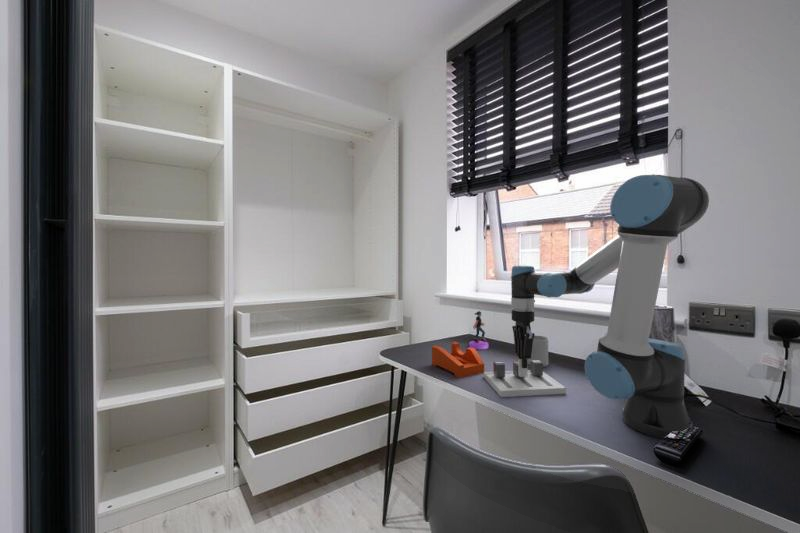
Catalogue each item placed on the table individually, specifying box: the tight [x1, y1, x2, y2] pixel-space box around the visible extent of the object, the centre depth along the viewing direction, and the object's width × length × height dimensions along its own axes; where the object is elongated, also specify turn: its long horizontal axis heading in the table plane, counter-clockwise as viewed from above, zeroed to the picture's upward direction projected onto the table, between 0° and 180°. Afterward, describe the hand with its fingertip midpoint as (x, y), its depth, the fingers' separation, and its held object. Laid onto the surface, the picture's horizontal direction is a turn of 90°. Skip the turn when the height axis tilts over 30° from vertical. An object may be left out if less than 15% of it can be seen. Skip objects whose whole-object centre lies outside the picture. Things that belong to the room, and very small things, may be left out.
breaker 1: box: [492, 361, 506, 378], centre depth 124 cm, size 4×3×5 cm
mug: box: [528, 335, 549, 368], centre depth 143 cm, size 12×8×11 cm
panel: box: [483, 369, 567, 398], centre depth 121 cm, size 18×22×2 cm
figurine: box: [468, 310, 489, 350], centre depth 171 cm, size 9×9×18 cm
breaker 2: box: [512, 361, 524, 378], centre depth 123 cm, size 4×3×5 cm
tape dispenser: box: [431, 341, 485, 378], centre depth 140 cm, size 18×13×8 cm
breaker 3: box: [529, 360, 544, 376], centre depth 125 cm, size 4×3×5 cm
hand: (522, 376), depth 120 cm, fingers closed
